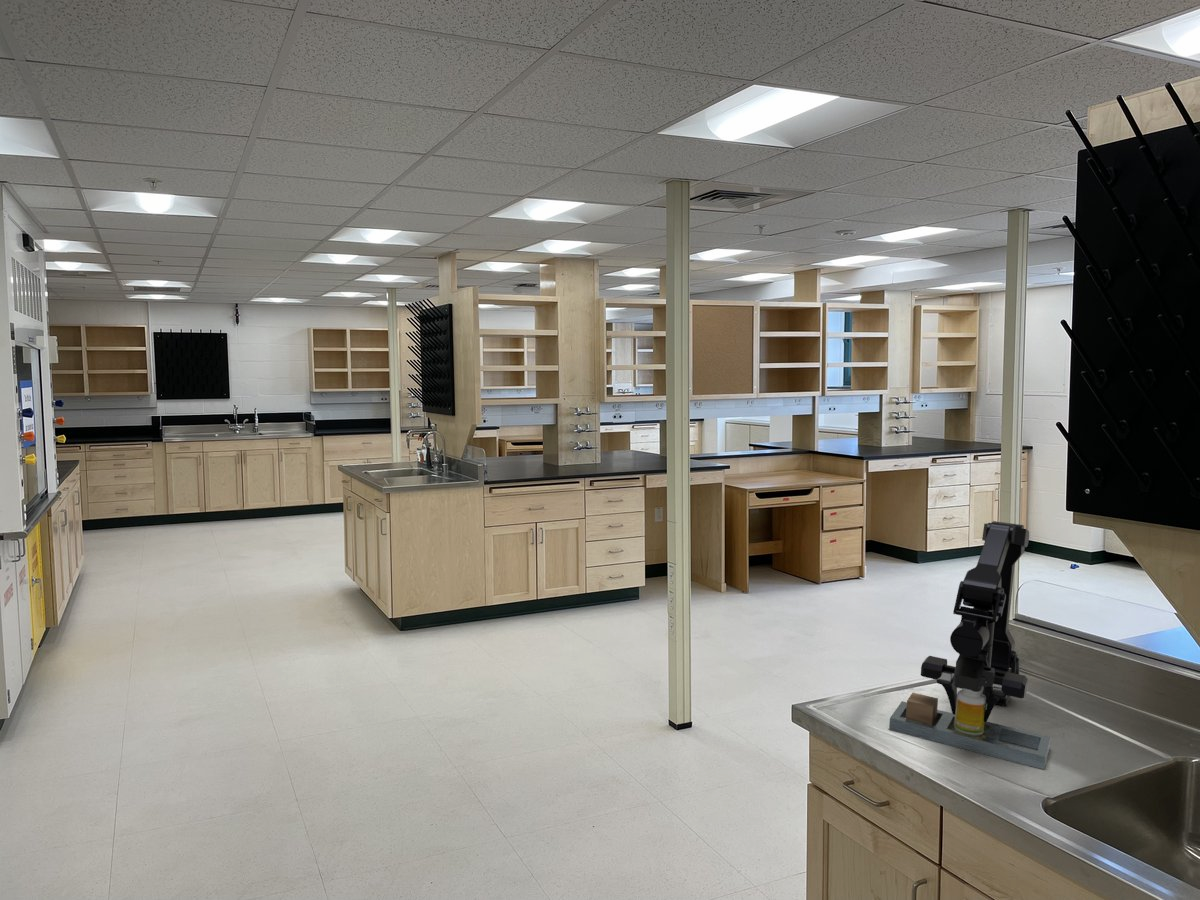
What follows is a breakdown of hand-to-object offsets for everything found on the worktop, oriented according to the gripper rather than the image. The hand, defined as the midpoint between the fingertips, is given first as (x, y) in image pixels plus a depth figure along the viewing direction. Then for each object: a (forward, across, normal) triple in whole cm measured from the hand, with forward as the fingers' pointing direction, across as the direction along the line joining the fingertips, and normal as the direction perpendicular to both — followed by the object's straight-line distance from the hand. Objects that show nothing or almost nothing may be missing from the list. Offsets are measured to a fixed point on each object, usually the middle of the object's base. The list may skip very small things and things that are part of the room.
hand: (969, 717), depth 170 cm
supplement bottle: (+3, 0, 0) cm, 3 cm away
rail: (+4, 0, 0) cm, 4 cm away
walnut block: (+4, -9, 0) cm, 10 cm away
